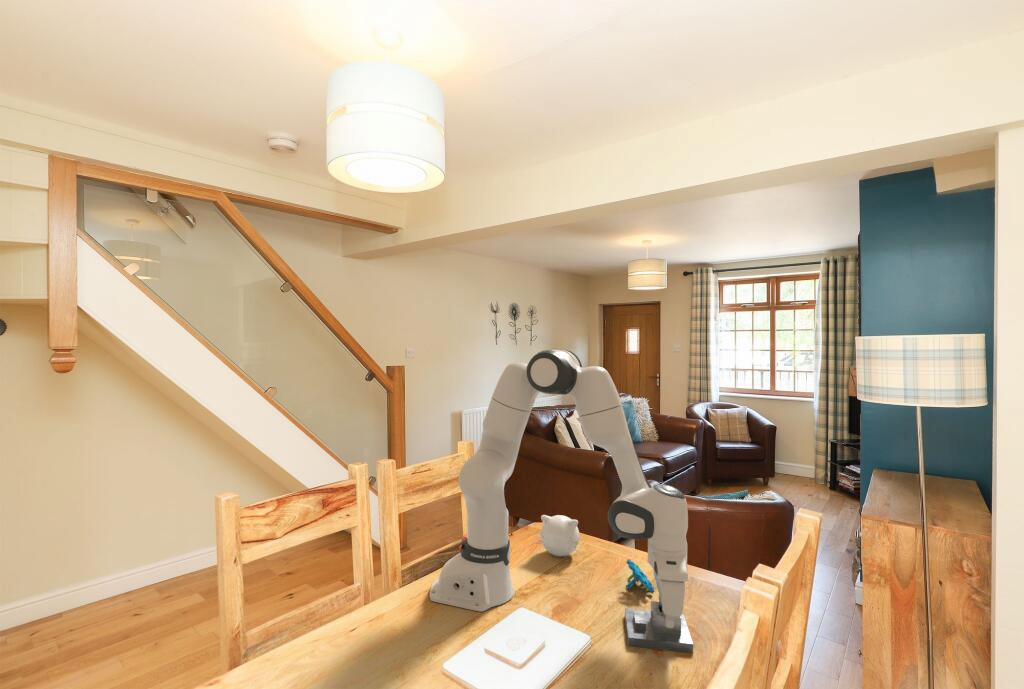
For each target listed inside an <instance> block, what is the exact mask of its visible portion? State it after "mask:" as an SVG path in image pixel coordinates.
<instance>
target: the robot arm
mask: <svg viewBox="0 0 1024 689" xmlns="http://www.w3.org/2000/svg"><path fill="white" fill-rule="evenodd" d="M495 385H496V386H495V388H494V390H493V393H492V396H491V399H490V401H489V405H488V408H487V410H486V413H485V415H484V418H483V422H482V434H481V440H480V444H479V446H478V449H477V450H476V452H475V453H474V454H473V455H472V456H471V457H469V458H468V459H467V460H466V461H465V462H464V463H463V465H462V467H461V469H460V471H459V474H458V480H457V482H458V486H459V489H460V491H461V493H462V494H463V497H464V501H465V506H466V508H465V509H466V515H467V516H466V518H467V523H466V524H467V525H466V527H467V530H466V532H467V534H466V533H465V534H464V535H463V536H462V538H461V542H460V544H459V546H458V547H459V549H458V550H459V552H458V553H457V554H456V555H455V556H453V557H451V558H450V559H449V560H447V561H446V562H445V564H444V565H443V567H441V571H440V574H439V576H438V577H437V578H436V579H435V581H434V582H433V583H432V585H431V586H430V589H429V599H430V601H431V602H434V603H439V604H444V605H449V606H453V607H458V608H462V609H466V610H471V611H475V612H480V613H481V612H486V611H487V610H488V609H489V610H490V608H493V607H496V606H500V605H503V604H504V603H505V604H506V603H508V601H510V600H511V599H512V598H513V597H514V594H515V591H514V587H513V582H512V578H511V571H510V561H511V543H510V539H509V510H508V508H507V507H506V506H507V505H506V500H505V499H506V498H505V489H504V488H505V484H506V482H507V481H508V480H509V478H510V477H511V476H512V474H513V472H514V469H515V465H516V461H517V459H518V455H519V451H520V448H521V441H522V439H523V435H524V432H525V429H526V427H527V424H528V421H529V418H530V415H531V412H532V410H533V408H534V405H535V401H536V399H537V397H538V395H539V393H543V394H545V395H546V394H547V395H564V396H565V395H569V396H570V397H571V398H572V400H573V402H574V404H575V409H576V412H577V415H578V419H579V422H580V426H581V428H582V431H583V433H584V435H585V437H586V439H587V440H588V441H589V442H590V443H591V444H592V445H594V446H597V447H599V448H601V449H604V450H605V451H607V453H608V454H609V455H610V457H611V458H612V461H613V464H614V466H615V469H616V472H617V474H618V477H619V480H620V483H621V493H620V496H618V497H617V498H616V499H615V500H614V501H613V502H612V504H611V505H610V506H609V509H608V511H607V521H608V524H609V526H610V528H611V529H612V531H613V532H614V533H615V534H616V535H618V536H619V537H621V538H623V539H628V540H647V563H648V565H650V567H651V568H652V570H653V576H654V579H655V585H656V587H657V591H658V602H661V603H662V607H663V611H664V615H665V626H666V627H667V628H673V627H674V619H675V617H676V618H680V617H681V615H682V614H683V612H684V602H685V591H686V588H685V587H686V586H685V584H686V583H685V582H688V580H689V573H688V542H687V537H686V536H687V532H688V529H689V514H688V512H689V511H688V510H689V509H688V503H687V499H686V496H685V494H684V493H683V492H682V491H681V490H679V489H678V488H676V487H674V486H672V485H668V484H662V483H661V484H660V483H659V484H658V483H657V484H654V485H651V484H650V482H649V481H648V479H647V477H646V475H645V472H644V470H643V466H642V464H641V461H640V459H639V456H638V453H637V450H636V447H635V444H634V442H633V439H632V437H631V434H630V430H629V426H628V421H627V418H626V414H625V411H624V407H623V404H622V401H621V397H620V395H619V392H618V389H617V387H616V385H615V383H614V381H613V379H612V376H611V375H610V373H609V372H608V370H607V369H605V368H604V367H601V366H597V365H592V366H591V365H590V366H586V367H583V365H582V362H581V360H580V358H579V357H578V356H577V355H576V354H575V353H573V351H571V350H567V349H561V348H560V349H559V348H552V349H546V350H542V351H539V352H537V353H536V354H534V355H533V356H532V357H531V358H530V360H529V362H528V363H526V362H522V361H516V362H511V363H509V364H507V365H506V366H505V368H504V370H503V371H502V374H501V375H500V377H499V379H498V381H497V384H495Z"/></svg>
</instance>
